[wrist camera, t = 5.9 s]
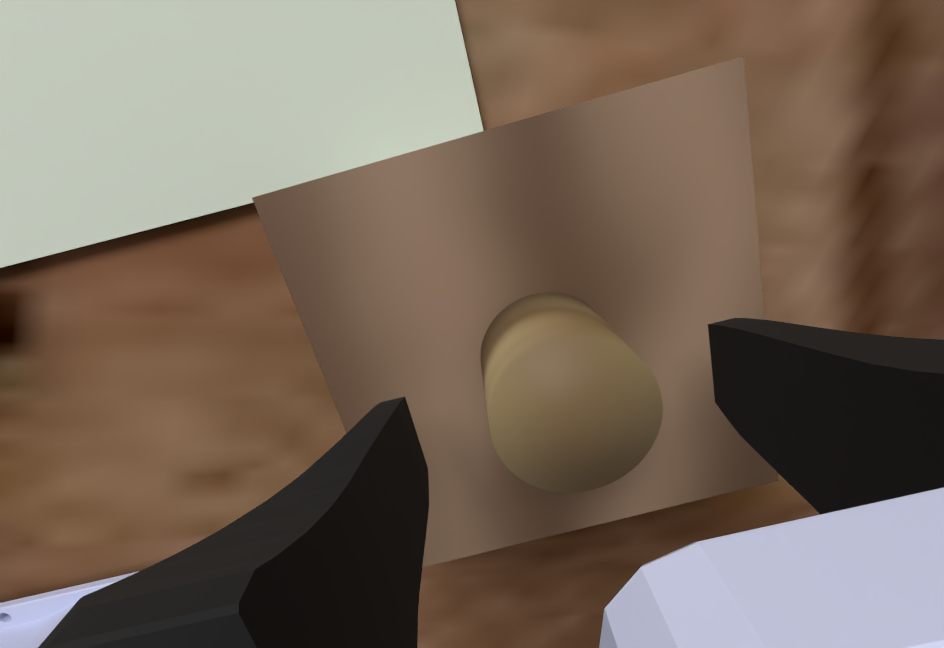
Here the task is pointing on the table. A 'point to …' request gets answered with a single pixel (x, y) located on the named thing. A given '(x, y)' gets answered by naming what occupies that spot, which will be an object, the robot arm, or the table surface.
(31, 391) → the table surface
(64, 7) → the mat
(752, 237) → the lid
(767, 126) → the table surface
